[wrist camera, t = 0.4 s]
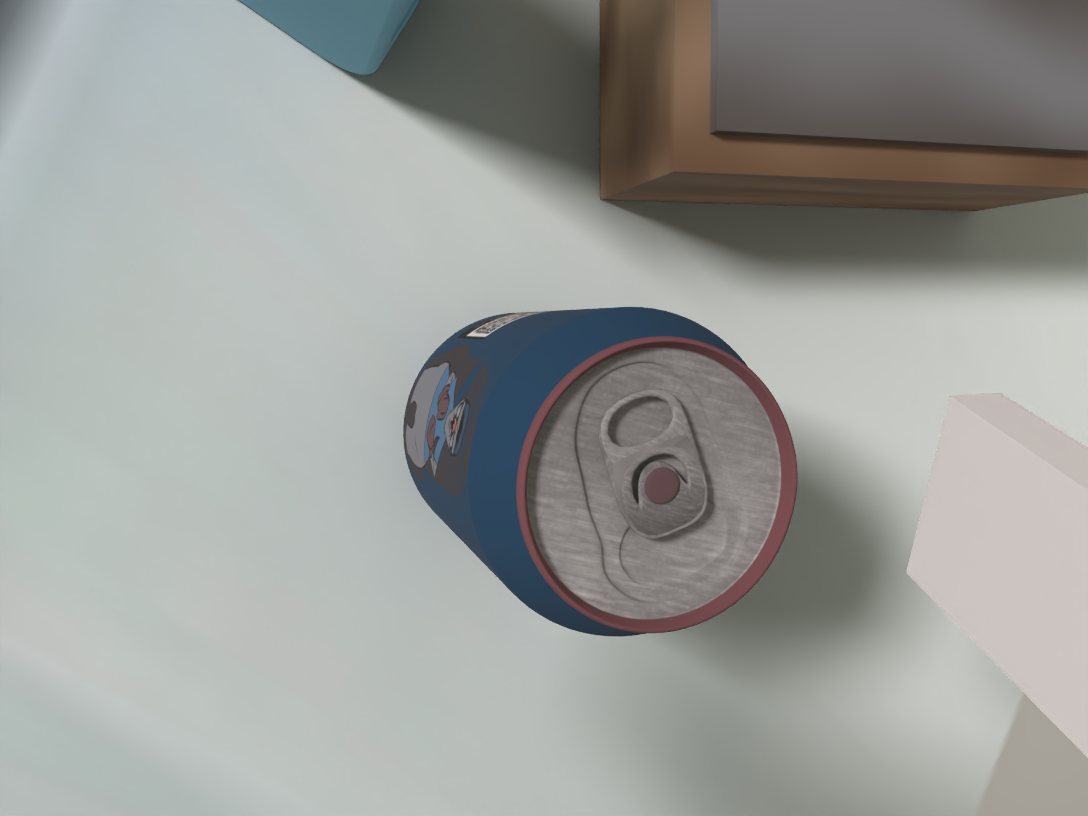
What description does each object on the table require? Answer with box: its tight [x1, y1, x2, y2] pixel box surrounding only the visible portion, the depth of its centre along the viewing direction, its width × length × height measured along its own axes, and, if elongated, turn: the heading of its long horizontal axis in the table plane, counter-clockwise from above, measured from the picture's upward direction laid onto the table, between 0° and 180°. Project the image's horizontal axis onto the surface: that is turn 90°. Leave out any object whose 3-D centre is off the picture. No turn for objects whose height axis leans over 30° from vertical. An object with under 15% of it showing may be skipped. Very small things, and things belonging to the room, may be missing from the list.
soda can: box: [403, 307, 797, 636], centre depth 24 cm, size 7×7×12 cm
